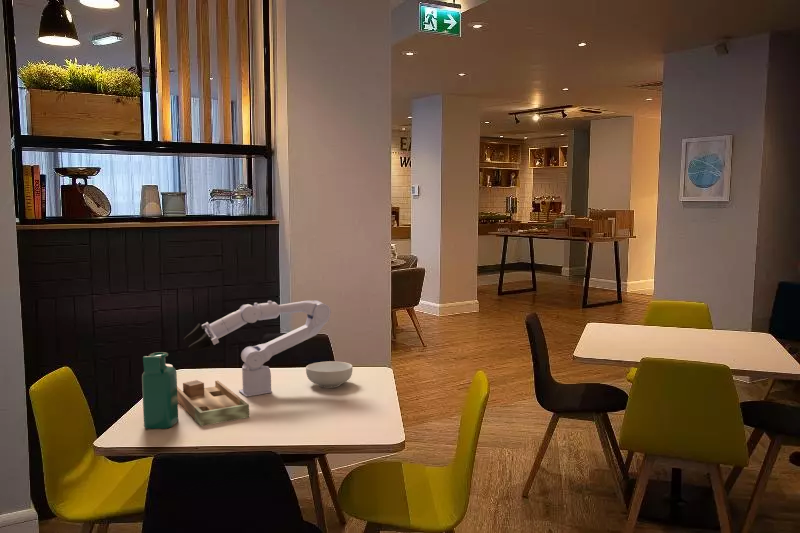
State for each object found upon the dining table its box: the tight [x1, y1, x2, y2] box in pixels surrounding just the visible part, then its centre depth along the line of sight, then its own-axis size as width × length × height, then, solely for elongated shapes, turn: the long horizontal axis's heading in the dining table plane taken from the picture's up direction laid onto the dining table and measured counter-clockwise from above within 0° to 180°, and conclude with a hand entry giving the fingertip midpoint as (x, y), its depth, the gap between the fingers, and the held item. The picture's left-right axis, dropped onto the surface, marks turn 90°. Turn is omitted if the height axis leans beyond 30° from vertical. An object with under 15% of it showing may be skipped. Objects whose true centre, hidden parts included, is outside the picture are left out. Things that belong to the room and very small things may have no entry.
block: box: [182, 379, 205, 398], centre depth 224 cm, size 5×5×4 cm
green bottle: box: [141, 351, 179, 430], centre depth 198 cm, size 10×8×22 cm
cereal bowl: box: [305, 360, 354, 389], centre depth 242 cm, size 17×17×7 cm
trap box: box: [177, 380, 250, 427], centre depth 216 cm, size 15×33×4 cm, turn 31°
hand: (187, 345), depth 222 cm, fingers open, 7 cm apart
